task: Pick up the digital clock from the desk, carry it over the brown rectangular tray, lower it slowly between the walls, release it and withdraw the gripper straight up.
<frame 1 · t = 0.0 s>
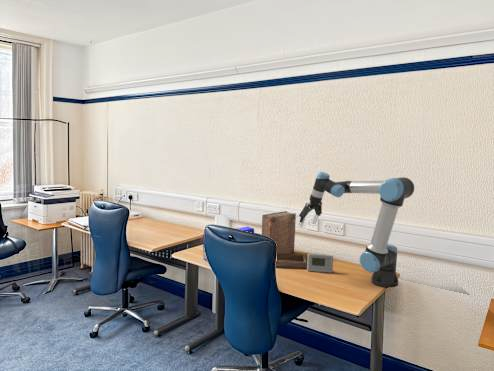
hand: (307, 224, 247), 28 cm above the table, tool tilted 20°, fingers open, 13 cm apart
brown rectangular tray: (289, 263, 255), on the table
book: (277, 254, 275), on the table
digital clock: (319, 271, 242), on the table
toner cartridge box: (229, 256, 270), on the table
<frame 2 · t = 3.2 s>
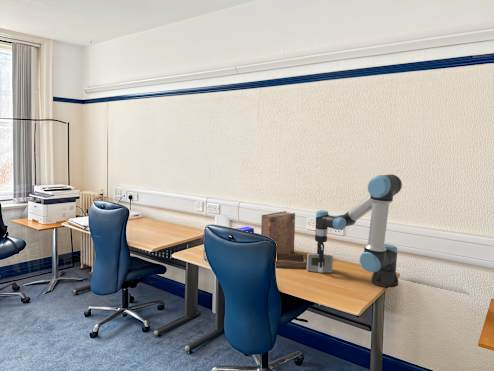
hand: (319, 269, 242), 1 cm above the table, tool pointing down, fingers closed on digital clock, 7 cm apart
digital clock: (319, 271, 241), on the table, touching gripper
everything else where it was.
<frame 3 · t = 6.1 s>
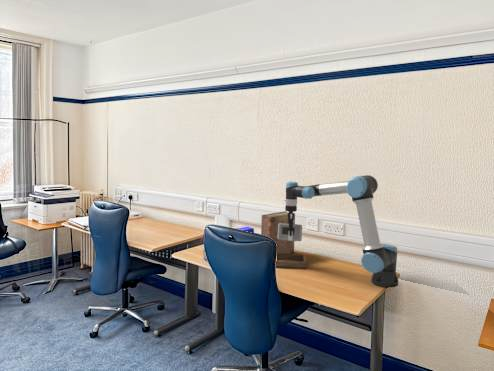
hand: (290, 238, 253), 17 cm above the table, tool pointing down, fingers closed on digital clock, 7 cm apart
digital clock: (289, 240, 252), point 16 cm above the table, touching gripper
everything else where it was.
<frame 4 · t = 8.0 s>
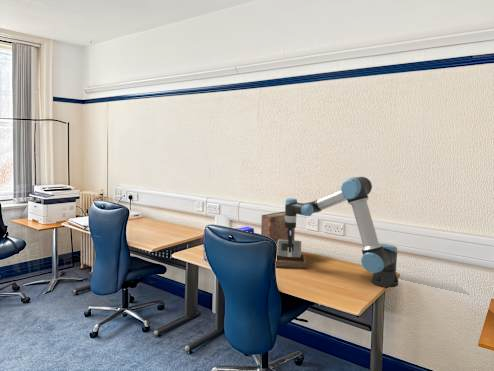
hand: (289, 254, 254), 6 cm above the table, tool pointing down, fingers closed on digital clock, 7 cm apart
digital clock: (288, 256, 254), point 5 cm above the table, touching gripper
everything else where it was.
when the fingers open (4 cm above the table, at t = 9.3 s): digital clock drops 2 cm, resting on brown rectangular tray.
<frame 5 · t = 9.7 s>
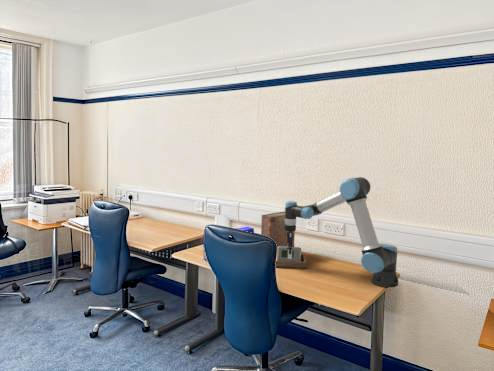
hand: (289, 255, 254), 6 cm above the table, tool pointing down, fingers open, 13 cm apart
digital clock: (288, 263, 254), point 1 cm above the table, touching brown rectangular tray
everything else where it was.
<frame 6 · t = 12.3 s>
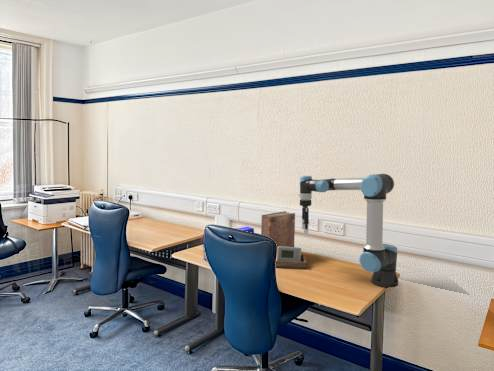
hand: (305, 231, 249), 23 cm above the table, tool pointing down, fingers open, 13 cm apart
nothing on the table moved.
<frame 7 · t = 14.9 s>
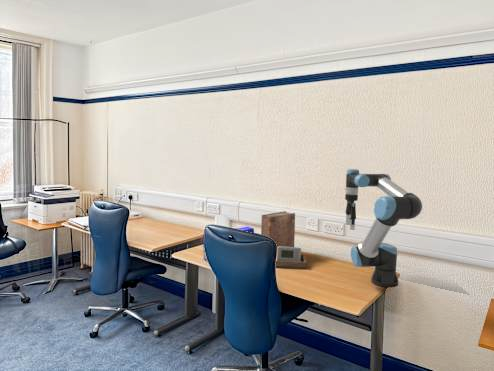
hand: (349, 227, 239), 29 cm above the table, tool pointing down, fingers open, 13 cm apart
nothing on the table moved.
at the end: digital clock inside the target area on the brown rectangular tray (0.9 cm from its centre), point 0.6 cm above the brown rectangular tray's base; the gripper is holding nothing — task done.
